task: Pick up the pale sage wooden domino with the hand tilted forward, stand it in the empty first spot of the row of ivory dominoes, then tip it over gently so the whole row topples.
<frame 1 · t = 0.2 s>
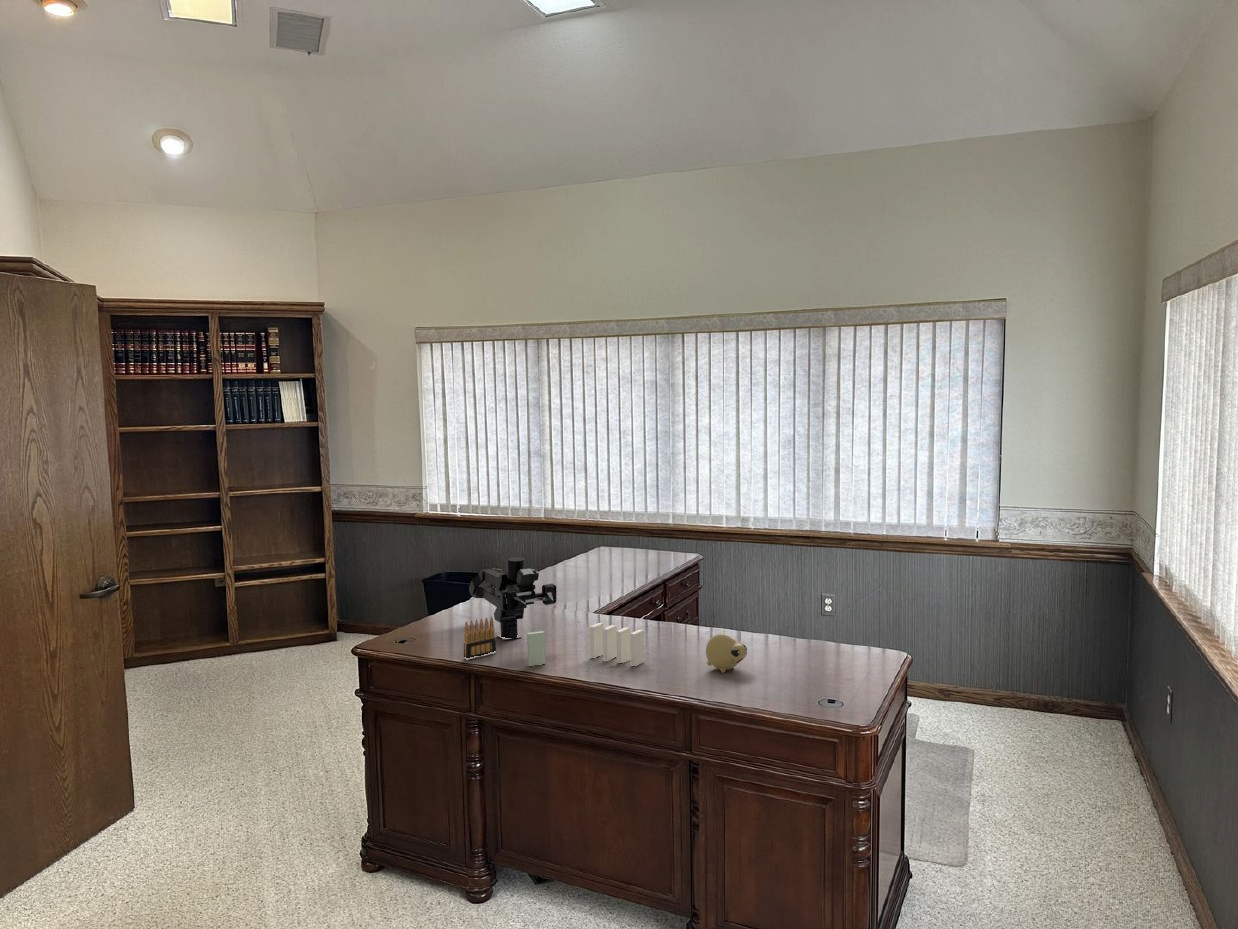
hand: (539, 604, 268), 17 cm above the table, tool horizontal, fingers open, 9 cm apart
domino 3: (623, 661, 263), on the table
domino 4: (637, 664, 260), on the table
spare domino: (536, 665, 261), on the table
domino 2: (610, 659, 266), on the table
domino 1: (597, 656, 268), on the table
beige round figure: (726, 671, 253), on the table
ammunition clip: (480, 657, 271), on the table
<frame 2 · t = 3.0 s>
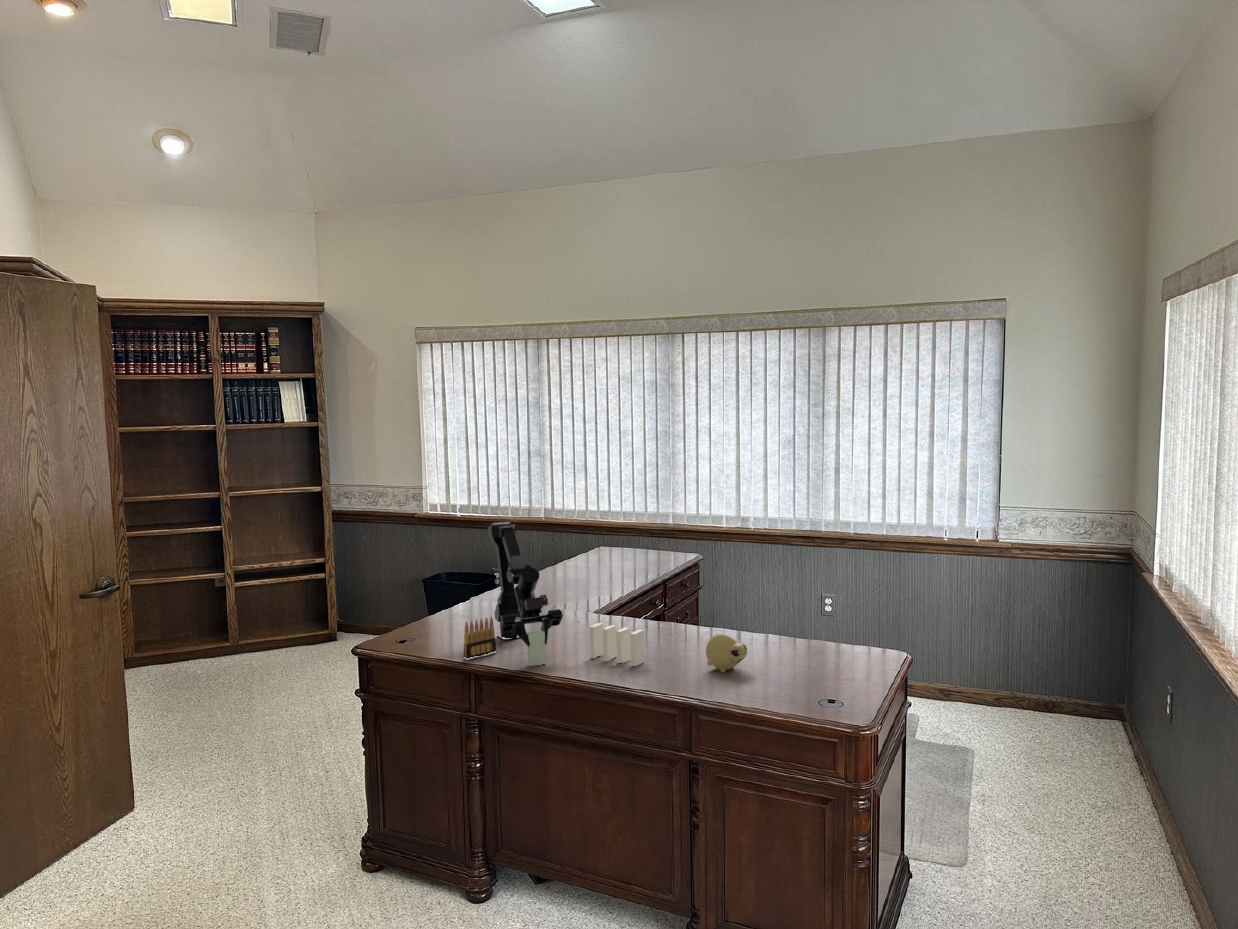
hand: (537, 644, 259), 7 cm above the table, tool tilted 45°, fingers closed on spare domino, 5 cm apart
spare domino: (536, 665, 261), on the table, touching gripper
everything else where it was.
when the fingers open (7 cm above the table, at t = 7.9 s): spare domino stays where it is, on the table.
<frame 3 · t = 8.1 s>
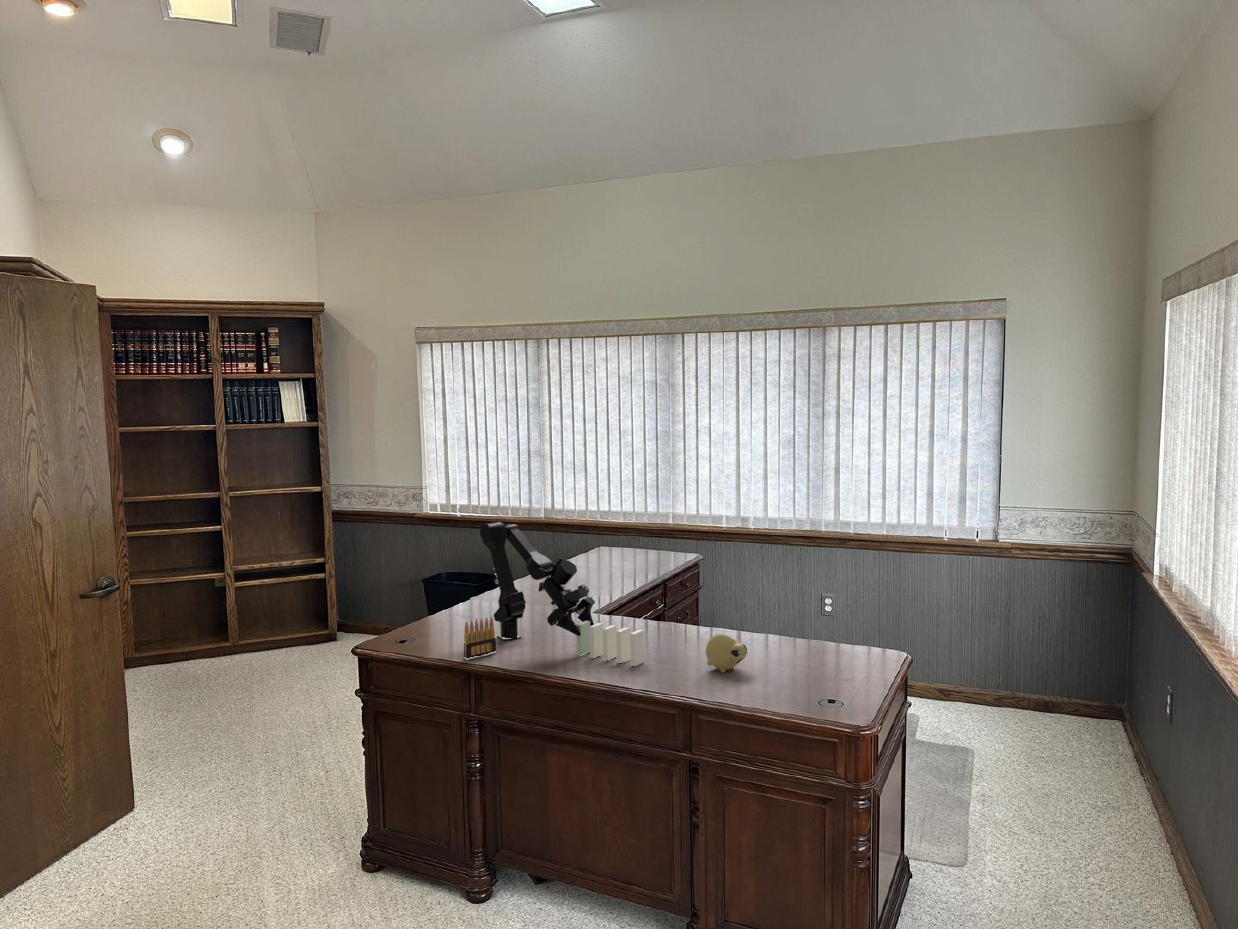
hand: (587, 632, 270), 7 cm above the table, tool tilted 45°, fingers open, 7 cm apart
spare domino: (584, 654, 271), on the table
everything else where it was.
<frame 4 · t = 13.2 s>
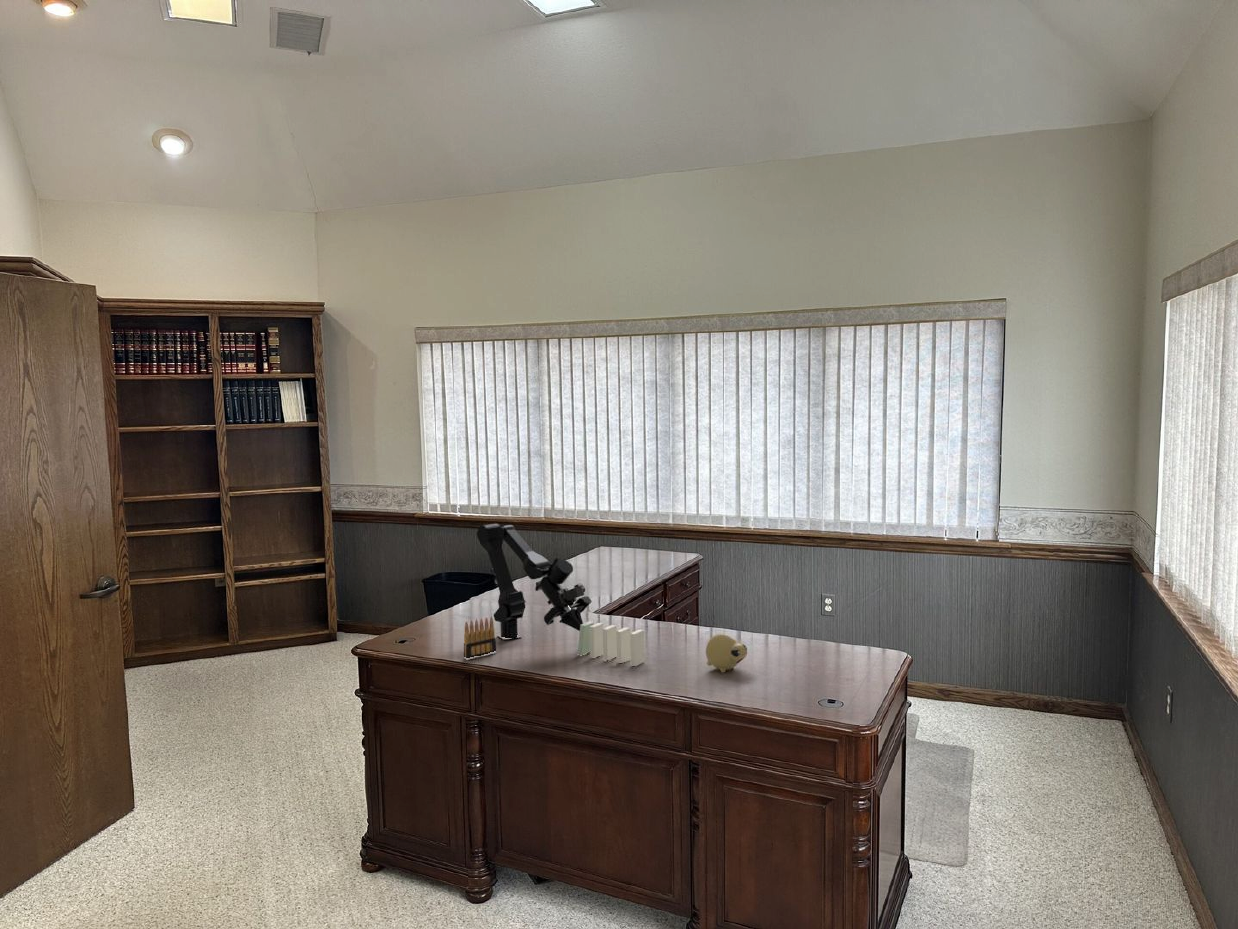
hand: (583, 631, 270), 7 cm above the table, tool tilted 45°, fingers closed
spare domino: (584, 653, 271), on the table, tilted 9°
everything else where it was.
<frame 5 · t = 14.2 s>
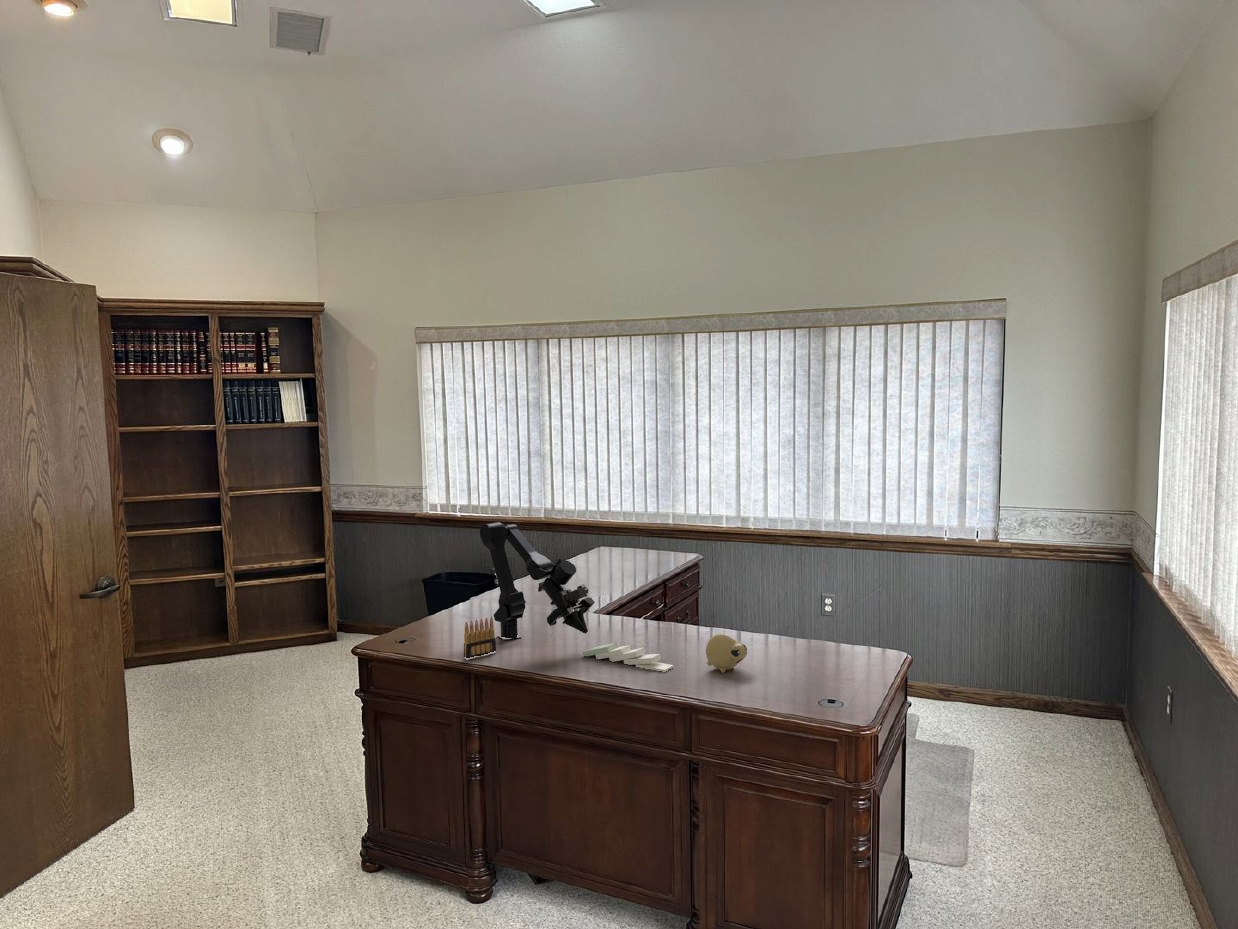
hand: (586, 632, 270), 7 cm above the table, tool tilted 45°, fingers closed
domino 3: (628, 660, 262), point 1 cm above the table, tilted 79°, touching domino 4
domino 4: (640, 664, 259), on the table, tilted 90°, touching domino 3
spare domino: (587, 652, 270), point 1 cm above the table, tilted 72°
domino 2: (614, 657, 265), point 1 cm above the table, tilted 72°, touching domino 1
domino 1: (600, 655, 267), point 1 cm above the table, tilted 72°, touching domino 2
everything else where it was.
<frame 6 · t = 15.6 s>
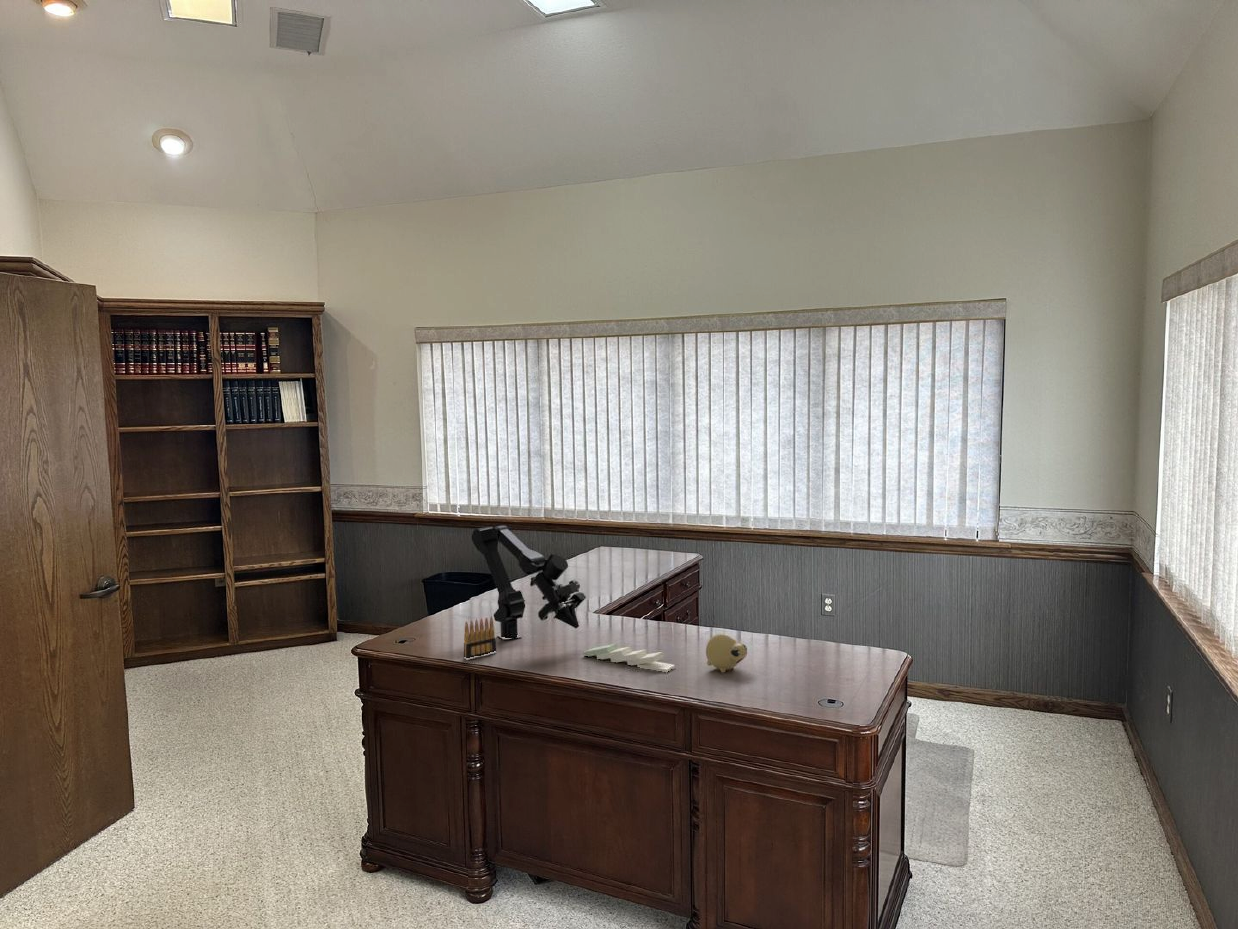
hand: (577, 627, 272), 8 cm above the table, tool tilted 45°, fingers closed
domino 3: (632, 661, 261), point 1 cm above the table, tilted 73°
domino 4: (641, 664, 259), on the table, tilted 90°
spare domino: (588, 652, 270), point 1 cm above the table, tilted 72°, touching domino 1
domino 1: (601, 655, 267), point 1 cm above the table, tilted 73°, touching domino 2, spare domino
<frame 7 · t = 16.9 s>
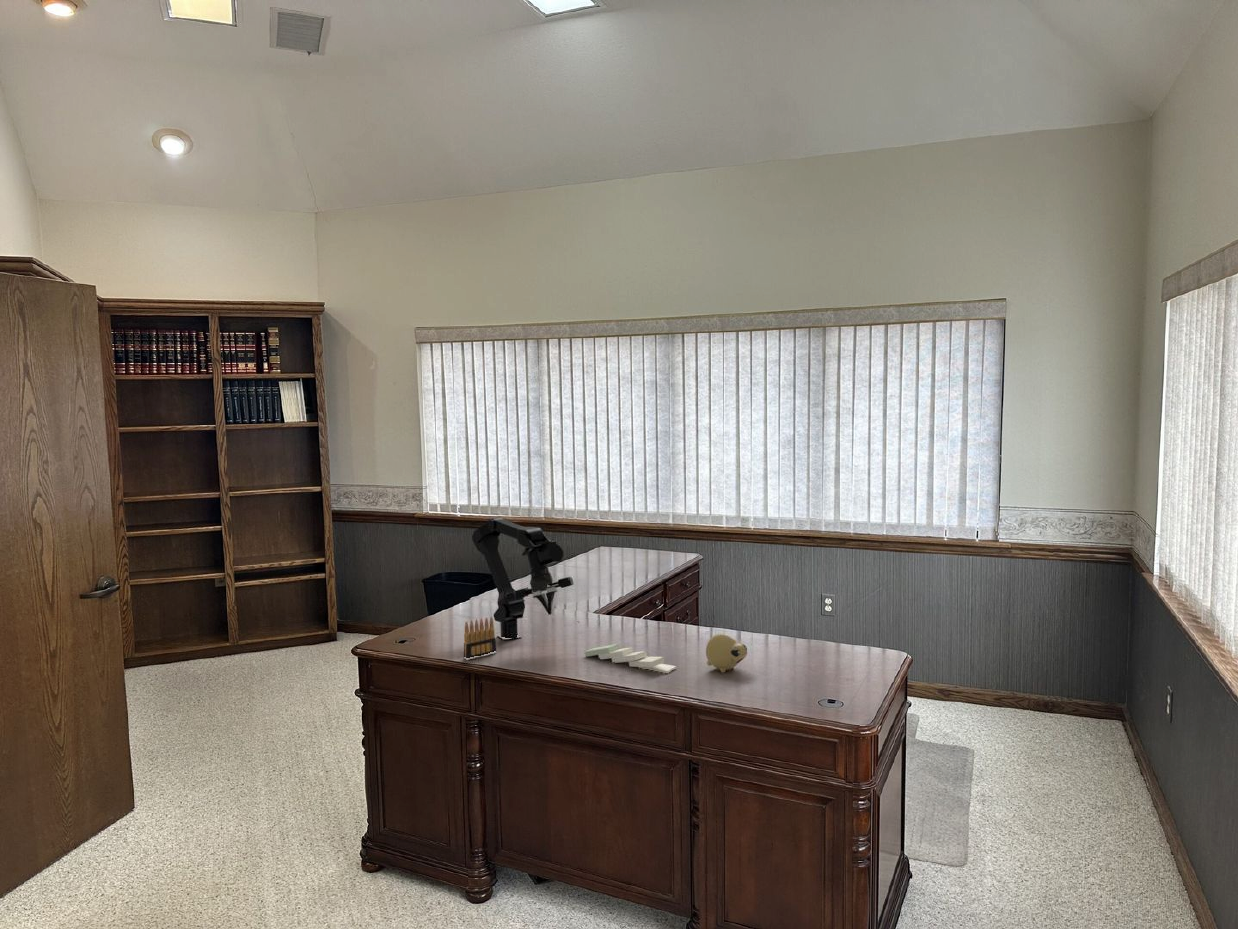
hand: (550, 614, 276), 11 cm above the table, tool tilted 15°, fingers closed
domino 3: (635, 661, 259), point 1 cm above the table, tilted 78°, touching domino 2, domino 4
domino 4: (643, 665, 258), on the table, tilted 90°, touching domino 3
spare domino: (590, 652, 270), point 1 cm above the table, tilted 73°
domino 2: (617, 658, 263), point 1 cm above the table, tilted 73°, touching domino 1, domino 3
domino 1: (604, 655, 267), point 1 cm above the table, tilted 73°, touching domino 2
everything else where it was.
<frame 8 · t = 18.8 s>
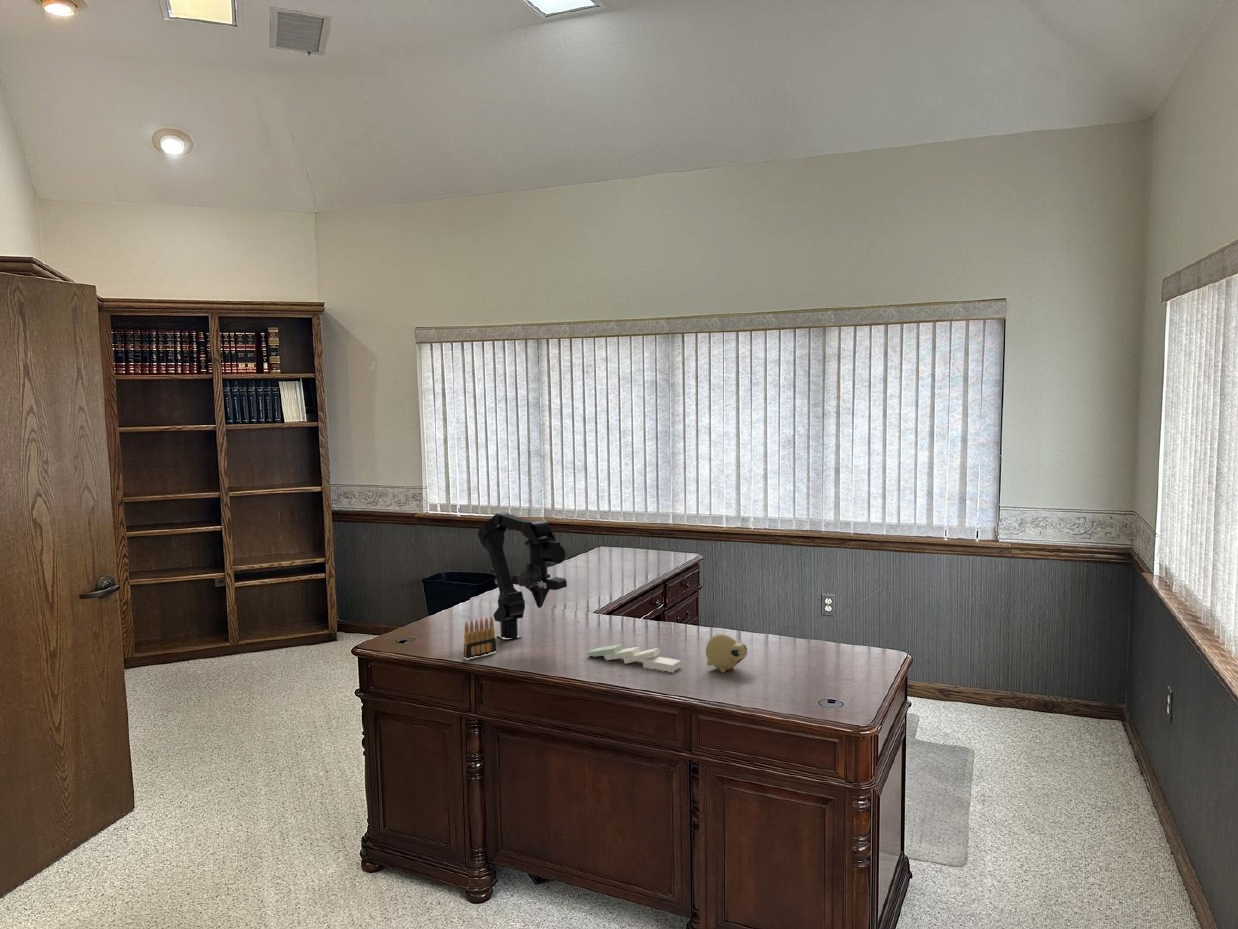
hand: (539, 607, 278), 13 cm above the table, tool pointing down, fingers closed
domino 3: (647, 660, 259), point 1 cm above the table, tilted 90°, touching domino 4
domino 4: (646, 665, 259), on the table, tilted 90°, touching domino 3
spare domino: (592, 652, 270), point 1 cm above the table, tilted 75°, touching domino 1
domino 2: (627, 659, 262), point 1 cm above the table, tilted 72°, touching domino 1
domino 1: (608, 655, 266), point 1 cm above the table, tilted 75°, touching domino 2, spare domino
everything else where it was.
at the end: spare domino inside the target area (1.6 cm from its centre), point 0.8 cm above the table; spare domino tilted 75°; domino 4 tilted 90° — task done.
